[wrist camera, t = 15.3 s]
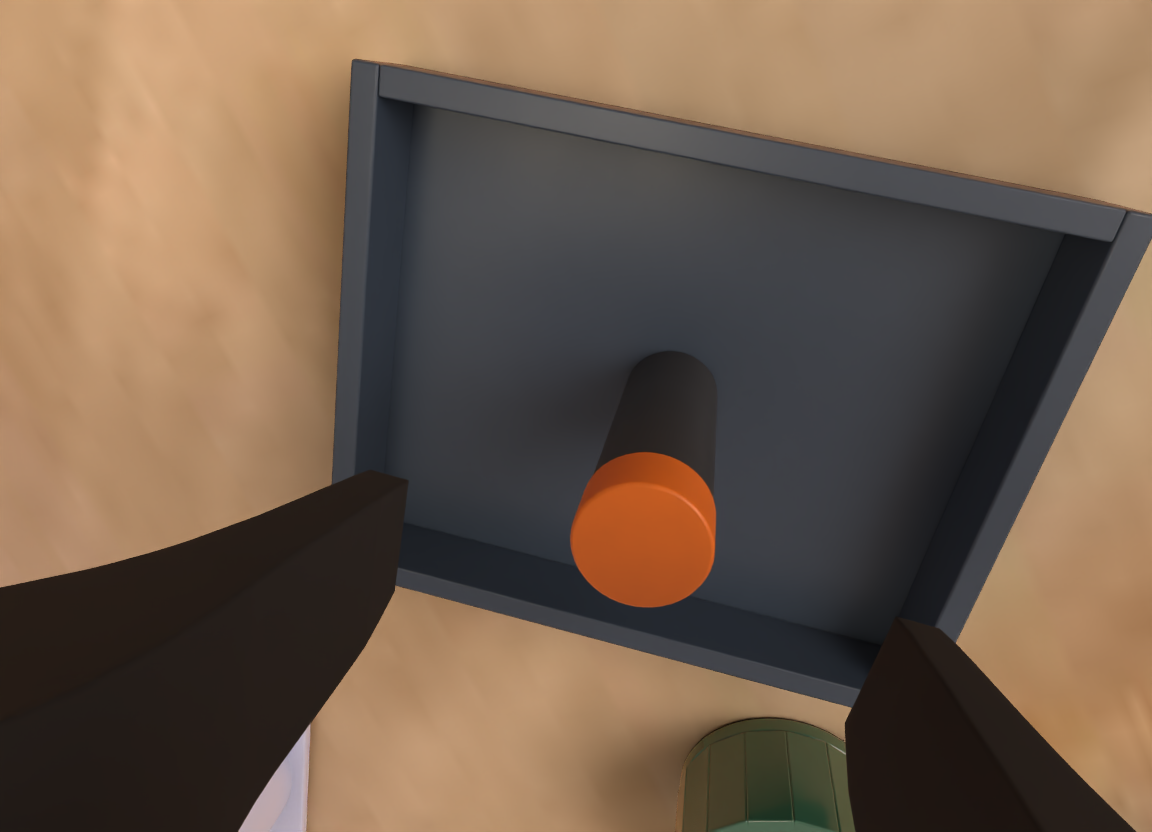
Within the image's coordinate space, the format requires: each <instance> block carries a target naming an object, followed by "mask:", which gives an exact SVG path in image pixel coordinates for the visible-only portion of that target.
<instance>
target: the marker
mask: <svg viewBox="0 0 1152 832" xmlns="http://www.w3.org/2000/svg"><path fill="white" fill-rule="evenodd" d="M716 418H717V387H716V383H715V380H714V378H713V376H712V374H711V372H710V371H709V370H708V368H707V367H706V366H705V365H704V364H703V363H702V362H700V361H699V360H698V359H696V358H694V357H693V356H690V355H688V354H685V353H682V352H676V351H666V352H660V353H656V354H653V355H651V356H649V357H647V358H645V359H644V360H642V361H641V362H640V363H639V364H638V365H637V366H636V367H635V368H634V369H633V371H632V372H631V374H630V376H629V378H628V381H627V383H626V386H625V389H624V392H623V394H622V397H621V400H620V403H619V405H618V408H617V411H616V414H615V416H614V419H613V422H612V425H611V427H610V430H609V433H608V436H607V438H606V441H605V444H604V447H603V449H602V452H601V455H600V458H599V460H598V463H597V466H596V469H595V471H594V474H593V476H592V477H591V479H590V480H589V482H588V484H587V486H586V488H585V490H584V493H583V496H582V498H581V501H580V504H579V507H578V509H577V512H576V515H575V517H574V520H573V523H572V527H571V533H570V545H571V551H572V555H573V558H574V561H575V563H576V565H577V567H578V569H579V571H580V572H581V574H582V575H583V577H584V578H585V579H586V580H587V581H588V582H589V583H590V584H591V585H592V586H593V587H594V588H595V589H596V590H598V591H599V592H600V593H602V594H603V595H605V596H607V597H608V598H610V599H612V600H615V601H617V602H620V603H623V604H626V605H630V606H635V607H660V606H665V605H670V604H673V603H675V602H678V601H680V600H682V599H684V598H686V597H688V596H689V595H690V594H692V593H693V592H694V591H695V590H696V589H697V588H699V587H700V586H701V584H702V583H703V582H704V581H705V579H706V578H707V576H708V574H709V573H710V571H711V568H712V565H713V562H714V557H715V536H716V508H715V503H714V474H715V446H716Z"/></svg>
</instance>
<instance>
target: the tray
mask: <svg viewBox="0 0 1152 832" xmlns="http://www.w3.org/2000/svg"><path fill="white" fill-rule="evenodd" d="M1151 239H1152V214H1151V213H1147V212H1143V211H1139V210H1135V209H1131V208H1127V207H1123V206H1120V205H1116V204H1112V203H1107V202H1104V201H1100V200H1096V199H1091V198H1085V197H1080V196H1075V195H1070V194H1065V193H1060V192H1055V191H1049V190H1044V189H1039V188H1034V187H1029V186H1024V185H1019V184H1013V183H1008V182H1003V181H998V180H993V179H988V178H983V177H977V176H972V175H967V174H962V173H957V172H952V171H947V170H941V169H936V168H931V167H926V166H921V165H916V164H911V163H905V162H900V161H895V160H890V159H885V158H880V157H875V156H869V155H864V154H859V153H854V152H849V151H844V150H839V149H834V148H828V147H823V146H818V145H813V144H808V143H803V142H798V141H792V140H787V139H782V138H777V137H772V136H767V135H762V134H756V133H751V132H746V131H741V130H736V129H731V128H726V127H720V126H715V125H710V124H705V123H700V122H695V121H690V120H684V119H679V118H674V117H669V116H664V115H659V114H654V113H648V112H643V111H638V110H633V109H628V108H623V107H618V106H612V105H607V104H602V103H597V102H592V101H587V100H582V99H576V98H571V97H566V96H561V95H556V94H551V93H546V92H541V91H535V90H530V89H525V88H520V87H515V86H510V85H505V84H499V83H494V82H489V81H484V80H479V79H474V78H469V77H463V76H458V75H453V74H448V73H443V72H438V71H433V70H427V69H422V68H417V67H412V66H407V65H401V64H393V63H385V62H377V61H369V60H361V59H353V60H352V66H351V87H350V108H349V129H348V151H347V172H346V193H345V214H344V236H343V257H342V278H341V299H340V320H339V342H338V363H337V384H336V405H335V427H334V448H333V469H332V484H335V483H337V482H339V481H342V480H344V479H347V478H349V477H352V476H354V475H357V474H359V473H362V472H365V471H368V470H374V471H377V472H381V473H384V474H388V475H392V476H395V477H399V478H402V479H406V480H409V483H408V491H407V499H406V507H405V514H404V522H403V530H402V538H401V546H400V554H399V562H398V569H397V577H396V586H399V587H403V588H407V589H411V590H414V591H418V592H422V593H426V594H429V595H433V596H437V597H441V598H444V599H448V600H452V601H456V602H459V603H463V604H467V605H470V606H474V607H478V608H482V609H485V610H489V611H493V612H497V613H500V614H504V615H508V616H512V617H515V618H519V619H523V620H526V621H530V622H534V623H538V624H541V625H545V626H549V627H553V628H556V629H560V630H564V631H568V632H571V633H575V634H579V635H583V636H586V637H590V638H594V639H597V640H601V641H605V642H609V643H612V644H616V645H620V646H624V647H627V648H631V649H635V650H639V651H642V652H646V653H650V654H653V655H657V656H661V657H665V658H668V659H672V660H676V661H680V662H683V663H687V664H691V665H695V666H698V667H702V668H706V669H710V670H713V671H717V672H721V673H724V674H728V675H732V676H736V677H739V678H743V679H747V680H751V681H754V682H758V683H762V684H766V685H769V686H773V687H777V688H780V689H784V690H788V691H792V692H795V693H799V694H803V695H807V696H810V697H814V698H818V699H822V700H825V701H829V702H833V703H837V704H840V705H844V706H848V707H851V708H852V707H853V705H854V703H855V701H856V699H857V697H858V695H859V692H860V690H861V688H862V686H863V684H864V682H865V680H866V678H867V676H868V674H869V671H870V669H871V667H872V665H873V663H874V661H875V659H876V657H877V655H878V653H879V650H880V648H881V646H882V644H883V642H884V640H885V638H886V636H887V634H888V632H889V629H890V627H891V625H892V623H893V621H894V619H895V617H896V616H897V617H900V618H904V619H907V620H911V621H915V622H918V623H922V624H925V625H929V626H933V627H936V628H940V629H941V630H942V631H943V632H944V633H945V634H946V635H947V636H948V637H950V638H951V639H952V640H953V641H954V642H955V643H956V641H957V639H958V637H959V635H960V633H961V631H962V629H963V627H964V625H965V623H966V621H967V618H968V616H969V614H970V612H971V610H972V608H973V606H974V604H975V602H976V600H977V598H978V596H979V594H980V592H981V590H982V588H983V585H984V583H985V581H986V579H987V577H988V575H989V573H990V571H991V569H992V567H993V565H994V563H995V561H996V559H997V557H998V555H999V552H1000V550H1001V548H1002V546H1003V544H1004V542H1005V540H1006V538H1007V536H1008V534H1009V532H1010V530H1011V528H1012V526H1013V524H1014V522H1015V519H1016V517H1017V515H1018V513H1019V511H1020V509H1021V507H1022V505H1023V503H1024V501H1025V499H1026V497H1027V495H1028V493H1029V491H1030V489H1031V486H1032V484H1033V482H1034V480H1035V478H1036V476H1037V474H1038V472H1039V470H1040V468H1041V466H1042V464H1043V462H1044V460H1045V458H1046V455H1047V453H1048V451H1049V449H1050V447H1051V445H1052V443H1053V441H1054V439H1055V437H1056V435H1057V433H1058V431H1059V429H1060V427H1061V425H1062V422H1063V420H1064V418H1065V416H1066V414H1067V412H1068V410H1069V408H1070V406H1071V404H1072V402H1073V400H1074V398H1075V396H1076V394H1077V392H1078V389H1079V387H1080V385H1081V383H1082V381H1083V379H1084V377H1085V375H1086V373H1087V371H1088V369H1089V367H1090V365H1091V363H1092V361H1093V359H1094V356H1095V354H1096V352H1097V350H1098V348H1099V346H1100V344H1101V342H1102V340H1103V338H1104V336H1105V334H1106V332H1107V330H1108V328H1109V326H1110V323H1111V321H1112V319H1113V317H1114V315H1115V313H1116V311H1117V309H1118V307H1119V305H1120V303H1121V301H1122V299H1123V297H1124V295H1125V293H1126V290H1127V288H1128V286H1129V284H1130V282H1131V280H1132V278H1133V276H1134V274H1135V272H1136V270H1137V268H1138V266H1139V264H1140V262H1141V260H1142V257H1143V255H1144V253H1145V251H1146V249H1147V247H1148V245H1149V243H1150V241H1151ZM666 351H676V352H682V353H685V354H688V355H690V356H693V357H694V358H696V359H698V360H699V361H700V362H702V363H703V364H704V365H705V366H706V367H707V368H708V370H709V371H710V372H711V374H712V376H713V378H714V380H715V383H716V387H717V418H716V446H715V474H714V503H715V508H716V536H715V557H714V562H713V565H712V568H711V571H710V573H709V574H708V576H707V578H706V579H705V581H704V582H703V583H702V584H701V586H700V587H699V588H697V589H696V590H695V591H694V592H693V593H692V594H690V595H689V596H688V597H686V598H684V599H682V600H680V601H678V602H675V603H673V604H670V605H665V606H660V607H635V606H630V605H626V604H623V603H620V602H617V601H615V600H612V599H610V598H608V597H607V596H605V595H603V594H602V593H600V592H599V591H598V590H596V589H595V588H594V587H593V586H592V585H591V584H590V583H589V582H588V581H587V580H586V579H585V578H584V577H583V575H582V574H581V572H580V571H579V569H578V567H577V565H576V563H575V561H574V558H573V555H572V551H571V545H570V533H571V527H572V523H573V520H574V517H575V515H576V512H577V509H578V507H579V504H580V501H581V498H582V496H583V493H584V490H585V488H586V486H587V484H588V482H589V480H590V479H591V477H592V476H593V474H594V471H595V469H596V466H597V463H598V460H599V458H600V455H601V452H602V449H603V447H604V444H605V441H606V438H607V436H608V433H609V430H610V427H611V425H612V422H613V419H614V416H615V414H616V411H617V408H618V405H619V403H620V400H621V397H622V394H623V392H624V389H625V386H626V383H627V381H628V378H629V376H630V374H631V372H632V371H633V369H634V368H635V367H636V366H637V365H638V364H639V363H640V362H641V361H642V360H644V359H645V358H647V357H649V356H651V355H653V354H656V353H660V352H666Z"/></svg>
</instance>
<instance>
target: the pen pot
mask: <svg viewBox="0 0 1152 832" xmlns="http://www.w3.org/2000/svg"><path fill="white" fill-rule="evenodd" d="M675 832H855V827H854V821H853V816H852V811H851V805H850V799H849V793H848V779H847V764H846V743H845V742H843V741H842V740H841V739H839V738H838V737H836V736H834V735H832V734H831V733H829V732H827V731H824V730H822V729H820V728H818V727H815V726H812V725H809V724H806V723H802V722H797V721H793V720H786V719H775V718H762V719H750V720H745V721H740V722H736V723H733V724H730V725H727V726H724V727H722V728H720V729H717V730H716V731H714V732H712V733H711V734H709V735H707V736H706V737H705V738H704V739H702V740H701V741H700V742H699V743H698V744H697V745H696V746H695V747H694V748H693V749H692V751H691V752H690V754H689V755H688V757H687V758H686V761H685V763H684V765H683V768H682V772H681V778H680V787H679V790H678V797H677V811H676V825H675Z"/></svg>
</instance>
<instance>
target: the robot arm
mask: <svg viewBox="0 0 1152 832" xmlns="http://www.w3.org/2000/svg"><path fill="white" fill-rule="evenodd" d="M408 483H409V480H406V479H402V478H399V477H395V476H392V475H388V474H384V473H381V472H377V471H374V470H368V471H365V472H362V473H359V474H357V475H354V476H352V477H349V478H347V479H344V480H342V481H339V482H337V483H335V484H332V485H330V486H328V487H325V488H323V489H321V490H318V491H316V492H314V493H311V494H309V495H307V496H304V497H302V498H299V499H297V500H295V501H292V502H290V503H287V504H285V505H282V506H280V507H278V508H275V509H273V510H270V511H268V512H265V513H263V514H261V515H258V516H256V517H253V518H250V519H247V520H245V521H242V522H239V523H236V524H234V525H231V526H228V527H225V528H223V529H220V530H217V531H214V532H212V533H209V534H206V535H203V536H201V537H198V538H195V539H192V540H190V541H186V542H183V543H180V544H177V545H174V546H171V547H168V548H164V549H161V550H158V551H154V552H151V553H148V554H144V555H140V556H137V557H133V558H129V559H126V560H122V561H118V562H115V563H111V564H107V565H103V566H99V567H95V568H91V569H87V570H82V571H78V572H73V573H68V574H63V575H59V576H54V577H49V578H44V579H39V580H35V581H30V582H25V583H20V584H16V585H11V586H6V587H1V588H0V832H306V827H307V802H308V777H309V752H310V727H311V722H312V720H313V719H314V718H315V716H316V715H317V714H318V712H319V711H320V709H321V708H322V707H323V705H324V704H325V702H326V701H327V700H328V698H329V697H330V696H331V694H332V693H333V691H334V690H335V689H336V687H337V686H338V684H339V683H340V682H341V680H342V679H343V677H344V676H345V675H346V673H347V672H348V670H349V669H350V667H351V666H352V665H353V663H354V662H355V660H356V659H357V658H358V656H359V655H360V653H361V652H362V650H363V649H364V647H365V646H366V644H367V642H368V640H369V639H370V637H371V635H372V633H373V631H374V629H375V628H376V626H377V624H378V622H379V620H380V618H381V617H382V615H383V613H384V611H385V609H386V607H387V605H388V603H389V601H390V599H391V597H392V595H393V593H394V592H395V585H396V577H397V569H398V562H399V554H400V546H401V538H402V530H403V522H404V514H405V507H406V499H407V491H408ZM845 740H846V764H847V779H848V793H849V799H850V805H851V811H852V816H853V821H854V827H855V832H1136V831H1135V830H1134V829H1133V828H1132V827H1131V826H1130V825H1129V824H1128V823H1127V822H1126V821H1125V820H1124V819H1123V818H1122V817H1121V816H1120V815H1119V814H1118V813H1117V812H1115V811H1114V810H1113V809H1112V808H1111V807H1110V806H1109V805H1108V804H1107V803H1106V802H1105V801H1104V800H1103V799H1102V798H1101V797H1100V796H1099V795H1098V794H1097V793H1096V792H1095V791H1094V790H1093V789H1092V788H1091V787H1090V786H1089V785H1088V784H1087V783H1086V782H1085V781H1084V780H1083V779H1082V778H1081V777H1080V776H1079V775H1078V774H1077V773H1076V772H1075V771H1074V770H1073V769H1072V768H1071V767H1070V766H1069V765H1068V763H1067V762H1066V761H1065V760H1064V759H1063V758H1062V757H1061V756H1060V755H1059V754H1058V753H1057V752H1056V751H1055V750H1054V749H1053V748H1052V747H1051V746H1050V745H1049V744H1048V743H1047V742H1046V740H1045V739H1044V738H1043V737H1042V736H1041V735H1040V734H1039V733H1038V732H1037V731H1036V730H1035V729H1034V728H1033V727H1032V725H1031V724H1030V723H1029V722H1028V721H1027V720H1026V719H1025V718H1024V717H1023V716H1022V715H1021V714H1020V712H1019V711H1018V710H1017V709H1016V708H1015V707H1014V706H1013V705H1012V704H1011V703H1010V702H1009V700H1008V699H1007V698H1006V697H1005V696H1004V695H1003V694H1002V693H1001V692H1000V691H999V690H998V688H997V687H996V686H995V685H994V684H993V683H992V682H991V681H990V680H989V679H988V677H987V676H986V675H985V674H984V673H983V672H982V671H981V670H980V669H979V668H978V667H977V666H976V664H975V663H974V662H973V661H972V660H971V659H970V658H969V657H968V656H967V655H966V654H965V653H964V652H963V651H962V650H961V649H960V647H959V646H958V645H957V644H956V643H955V642H954V641H953V640H952V639H951V638H950V637H948V636H947V635H946V634H945V633H944V632H943V631H942V630H941V629H940V628H936V627H933V626H929V625H925V624H922V623H918V622H915V621H911V620H907V619H904V618H900V617H897V616H896V617H895V619H894V621H893V623H892V625H891V627H890V629H889V632H888V634H887V636H886V638H885V640H884V642H883V644H882V646H881V648H880V650H879V653H878V655H877V657H876V659H875V661H874V663H873V665H872V667H871V669H870V671H869V674H868V676H867V678H866V680H865V682H864V684H863V686H862V688H861V690H860V692H859V695H858V697H857V699H856V701H855V703H854V705H853V707H852V709H851V711H850V713H849V716H848V718H847V720H846V722H845Z"/></svg>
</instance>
